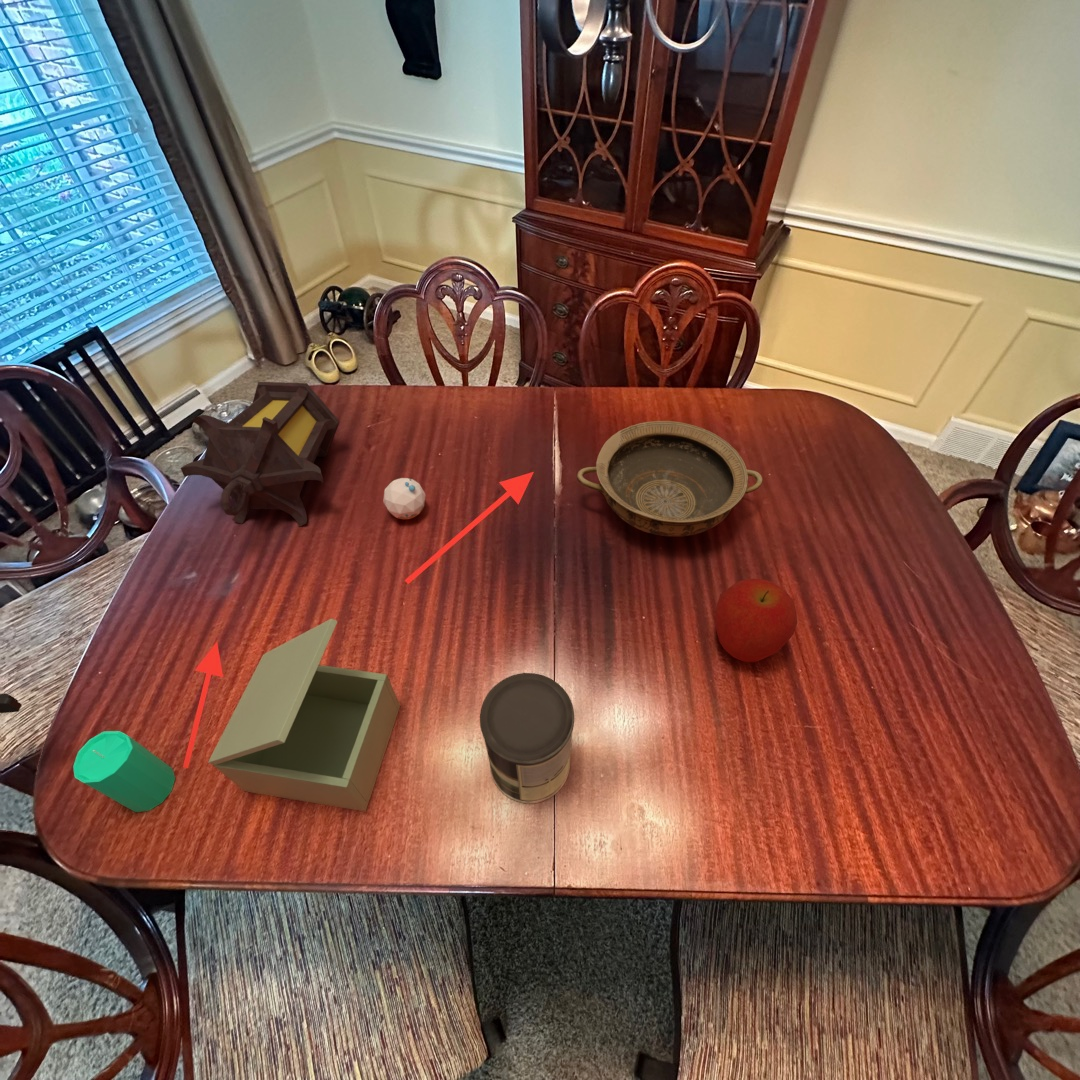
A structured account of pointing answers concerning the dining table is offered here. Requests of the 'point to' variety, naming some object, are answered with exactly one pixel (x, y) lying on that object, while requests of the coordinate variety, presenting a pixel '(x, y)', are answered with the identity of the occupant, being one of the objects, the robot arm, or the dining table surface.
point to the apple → (754, 619)
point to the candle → (124, 771)
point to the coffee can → (528, 736)
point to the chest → (326, 743)
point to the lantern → (267, 450)
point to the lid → (273, 695)
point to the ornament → (404, 498)
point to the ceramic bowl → (670, 477)
